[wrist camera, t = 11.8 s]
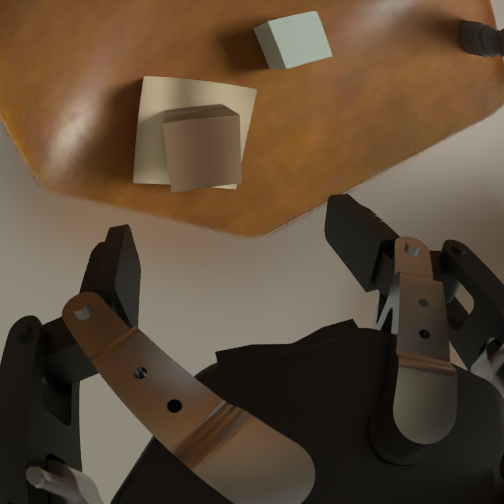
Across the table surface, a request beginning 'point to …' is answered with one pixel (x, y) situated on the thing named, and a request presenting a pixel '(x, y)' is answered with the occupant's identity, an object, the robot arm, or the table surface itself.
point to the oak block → (173, 97)
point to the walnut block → (202, 147)
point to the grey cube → (293, 40)
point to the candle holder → (481, 39)
